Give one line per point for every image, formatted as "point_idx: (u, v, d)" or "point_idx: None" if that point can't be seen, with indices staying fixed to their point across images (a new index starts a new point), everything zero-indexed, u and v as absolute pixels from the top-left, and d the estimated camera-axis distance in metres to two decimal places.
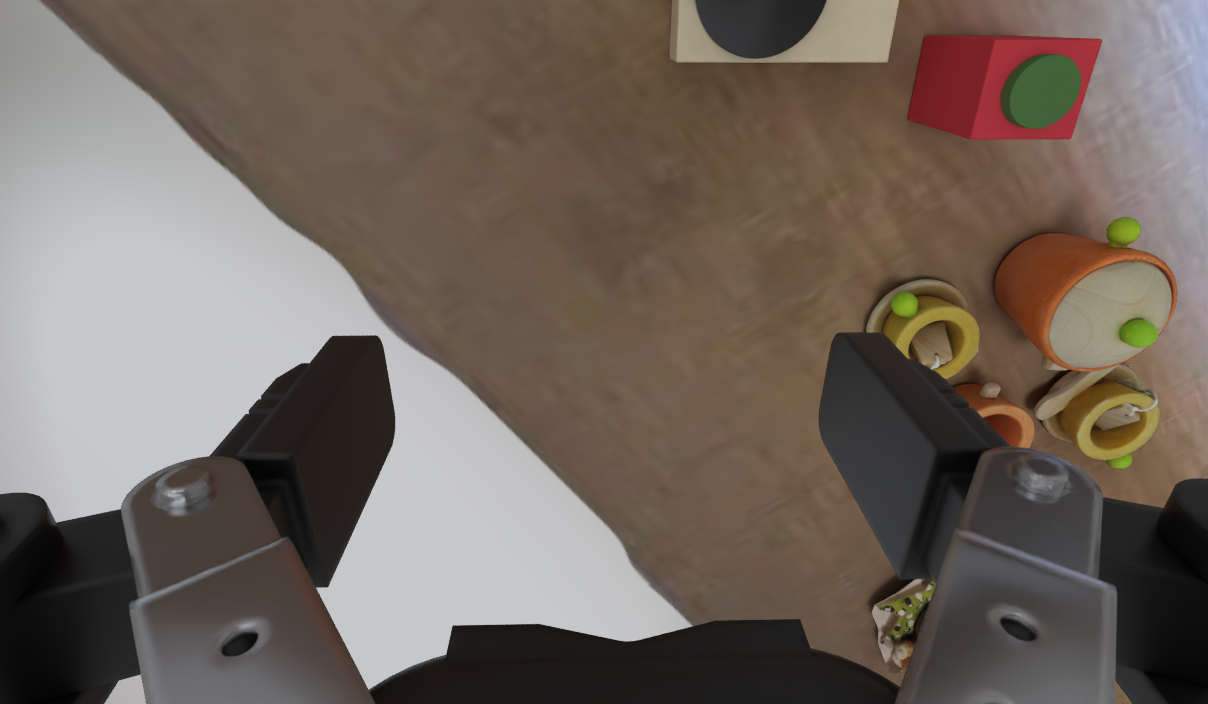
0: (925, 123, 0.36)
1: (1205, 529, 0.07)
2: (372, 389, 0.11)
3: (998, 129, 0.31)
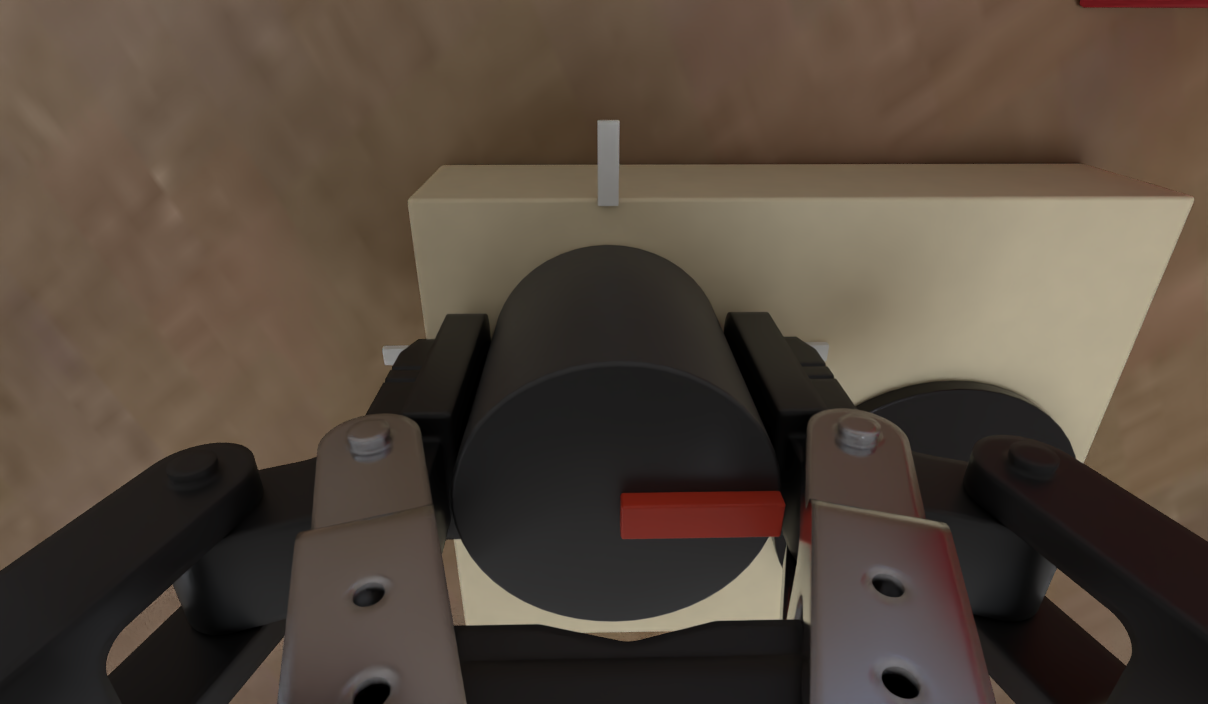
0: None
1: (989, 476, 0.07)
2: None
3: None
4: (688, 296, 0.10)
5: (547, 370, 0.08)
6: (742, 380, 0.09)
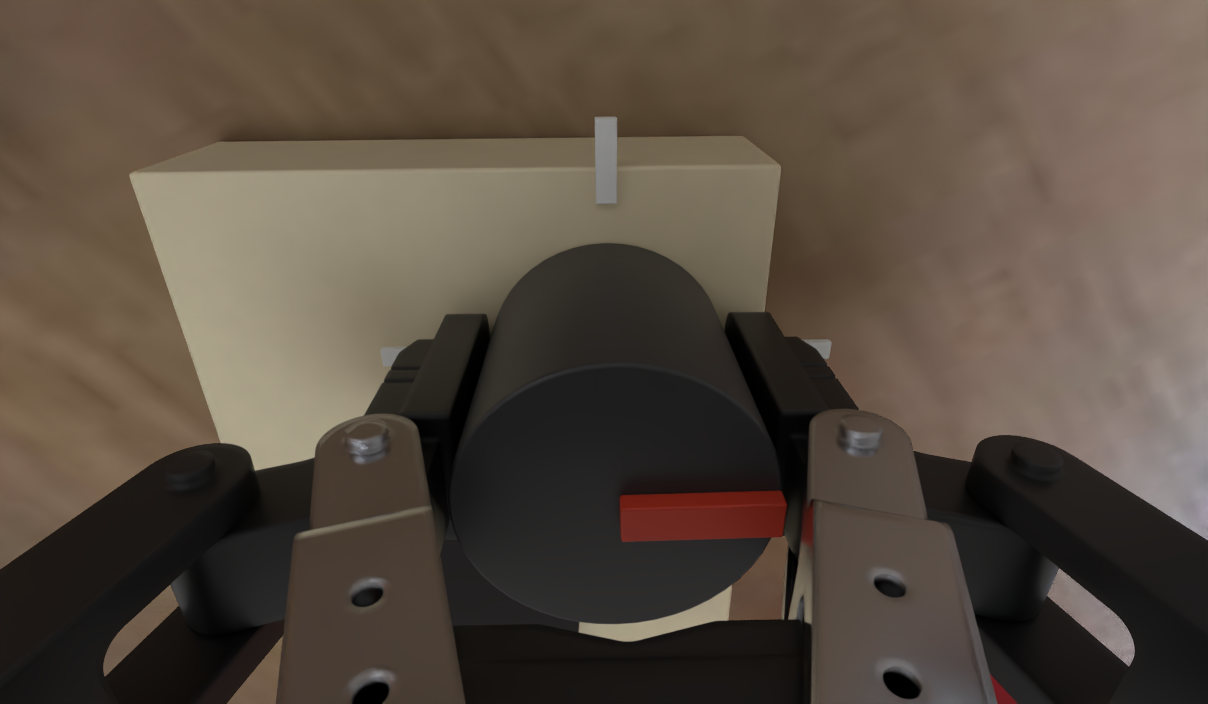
0: None
1: (992, 476, 0.07)
2: None
3: None
4: (687, 294, 0.10)
5: (542, 373, 0.08)
6: (742, 378, 0.09)
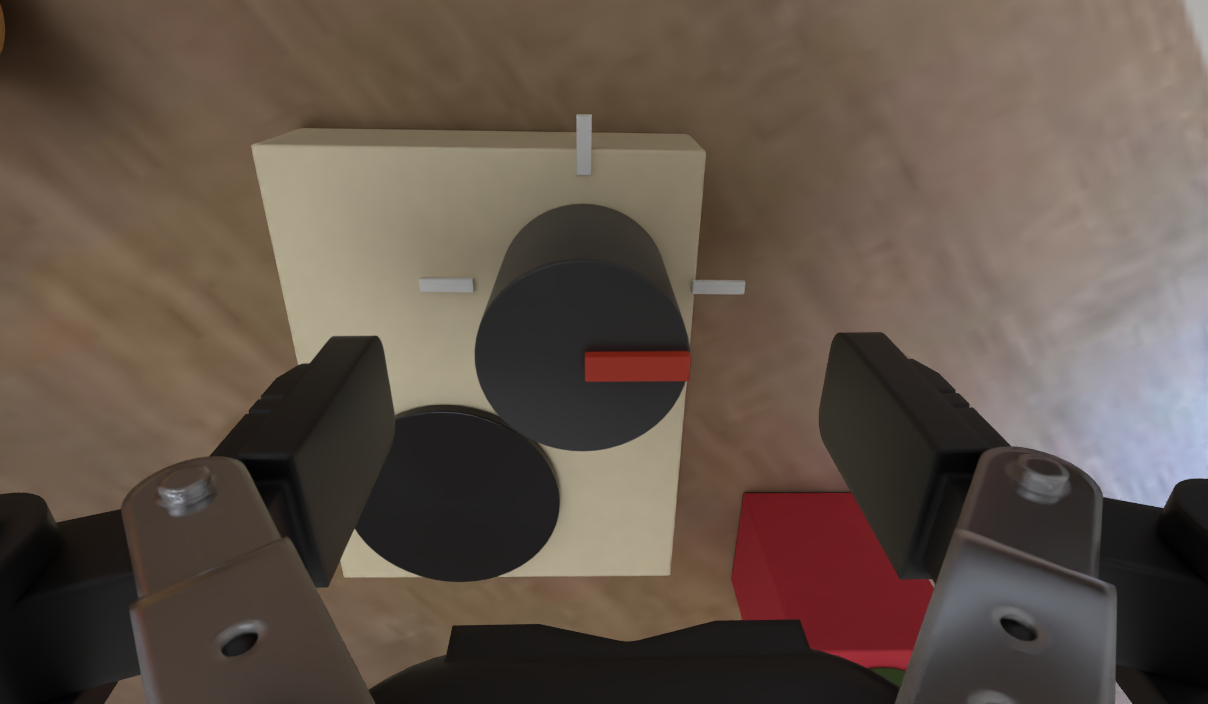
0: None
1: (1205, 529, 0.07)
2: (372, 389, 0.11)
3: None
4: (636, 235, 0.15)
5: (537, 266, 0.12)
6: (668, 285, 0.14)
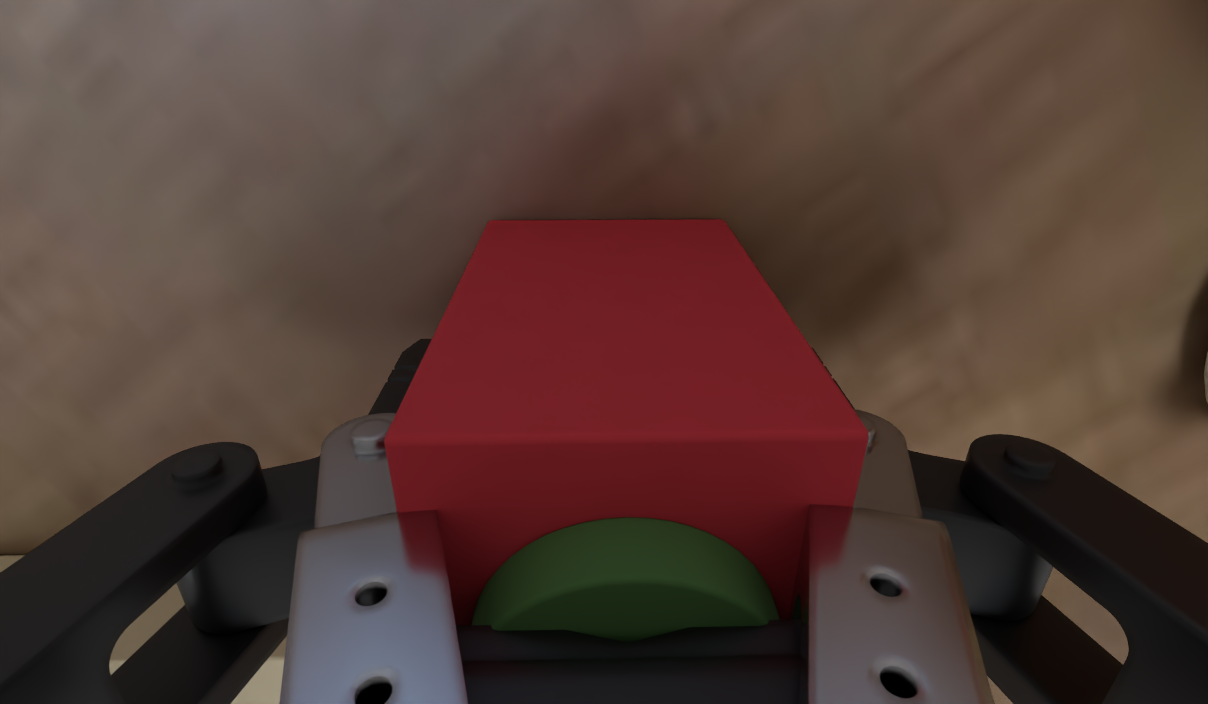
0: None
1: (985, 475, 0.07)
2: None
3: None
4: None
5: None
6: None
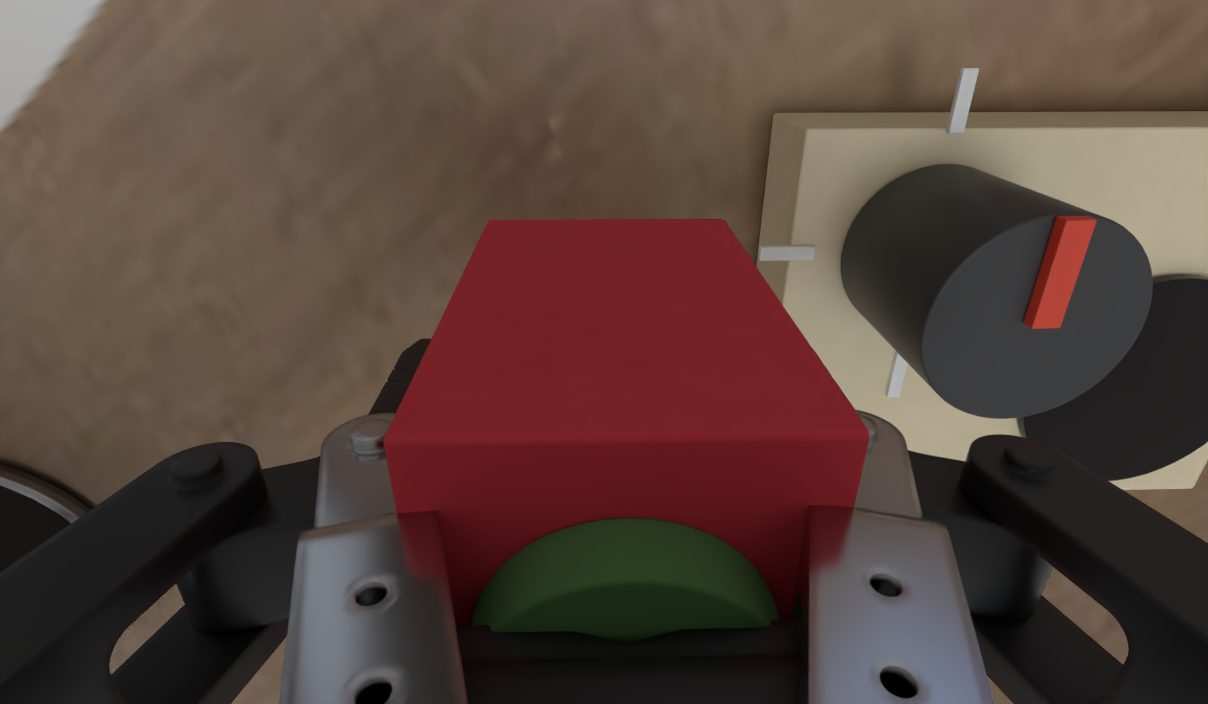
0: None
1: (985, 475, 0.07)
2: None
3: None
4: (891, 220, 0.15)
5: (919, 362, 0.13)
6: (962, 215, 0.13)
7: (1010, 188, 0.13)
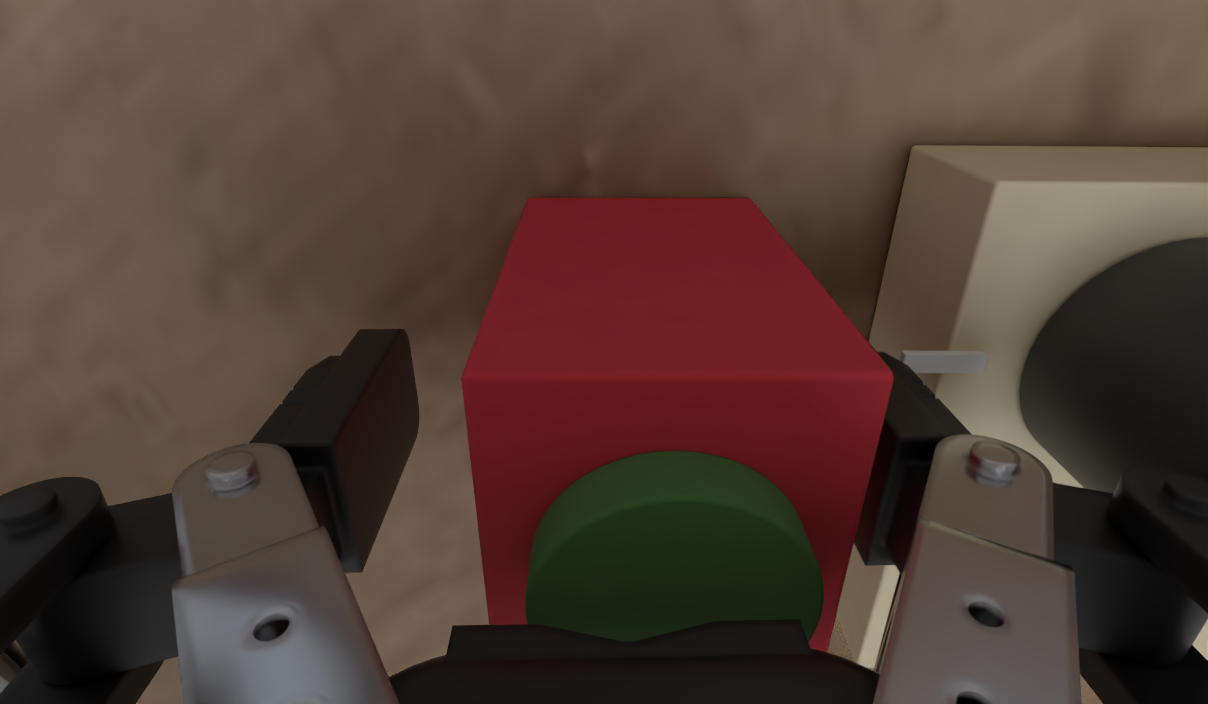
0: None
1: (1148, 512, 0.07)
2: (399, 381, 0.11)
3: None
4: (1142, 335, 0.09)
5: None
6: None
7: None
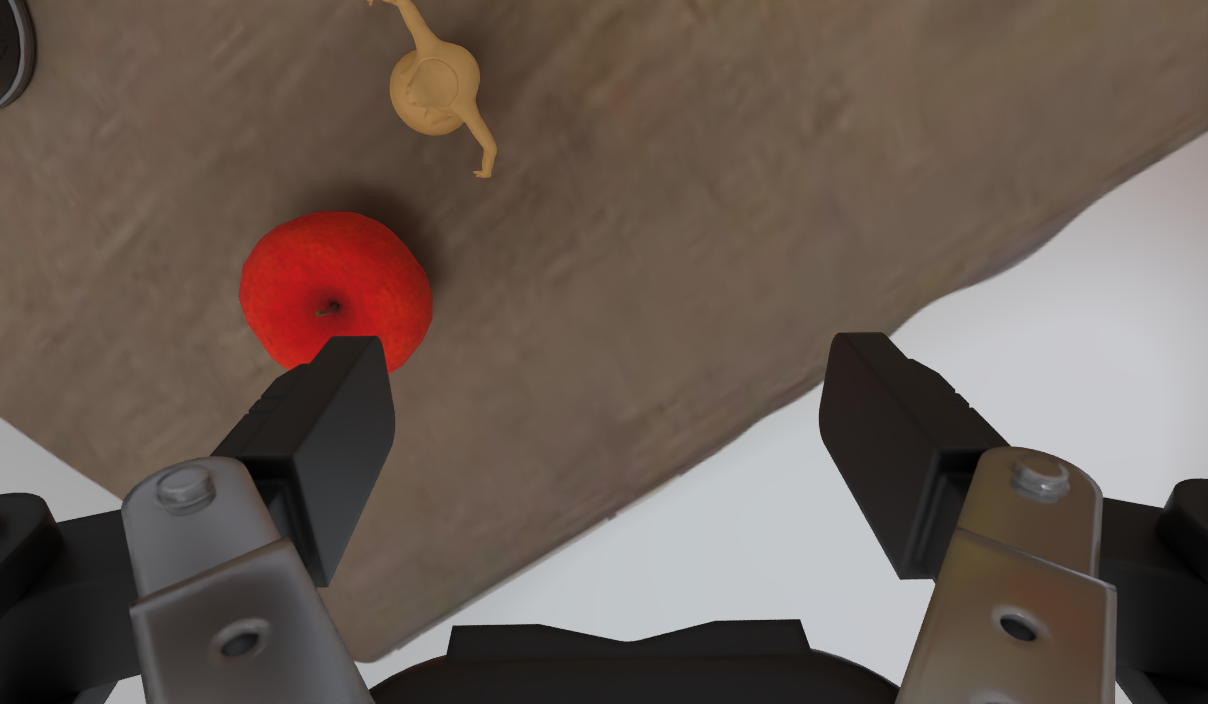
0: None
1: (1205, 529, 0.07)
2: (372, 389, 0.11)
3: None
4: None
5: None
6: None
7: None
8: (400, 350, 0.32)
